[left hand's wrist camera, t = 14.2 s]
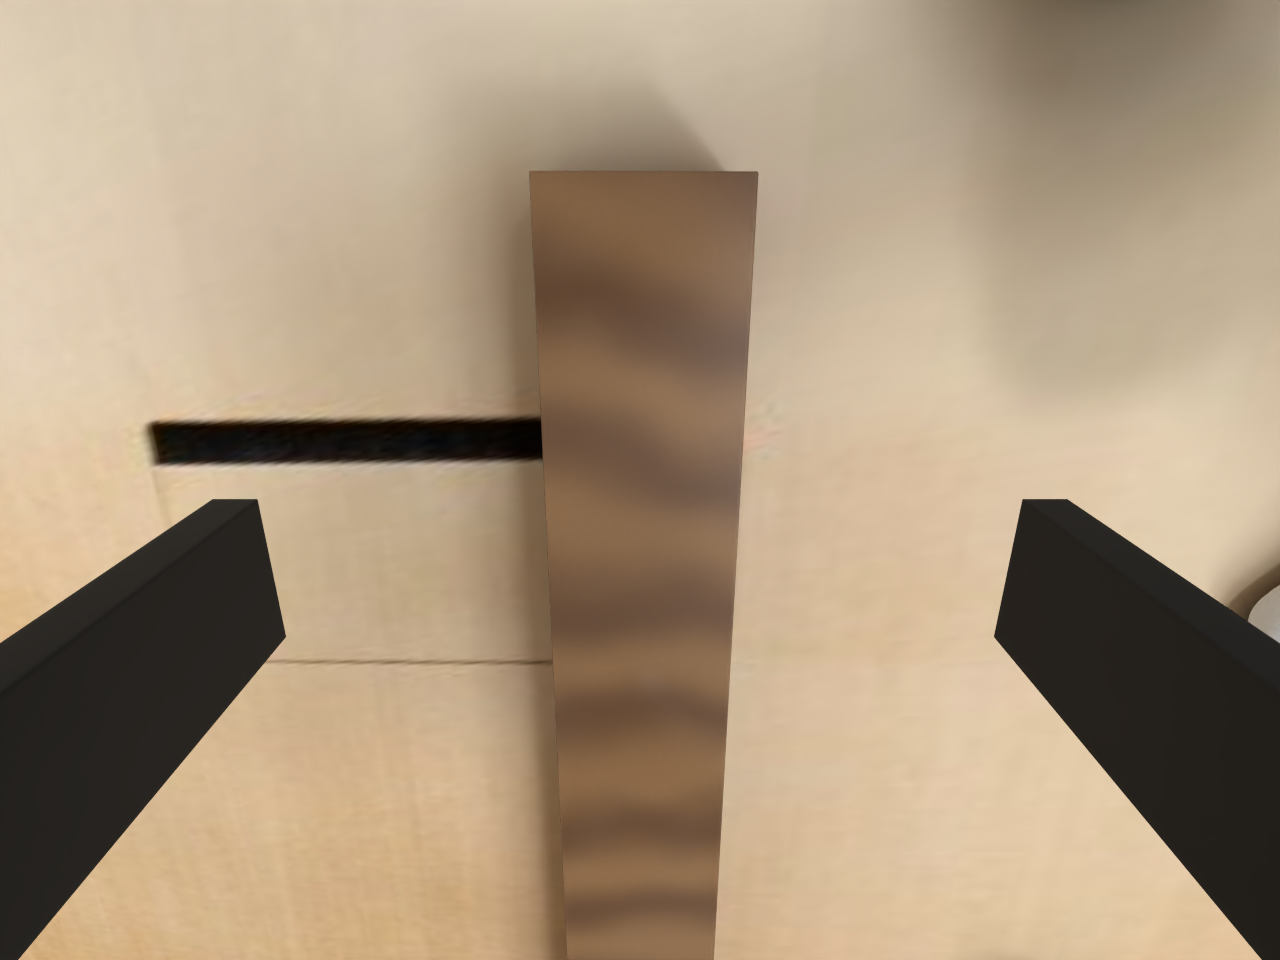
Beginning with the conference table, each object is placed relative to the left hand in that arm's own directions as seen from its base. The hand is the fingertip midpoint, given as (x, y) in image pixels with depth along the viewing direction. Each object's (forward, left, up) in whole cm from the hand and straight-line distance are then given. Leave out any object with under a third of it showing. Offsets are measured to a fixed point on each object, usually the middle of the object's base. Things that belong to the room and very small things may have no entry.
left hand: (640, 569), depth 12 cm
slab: (+20, +15, -26) cm, 36 cm away
